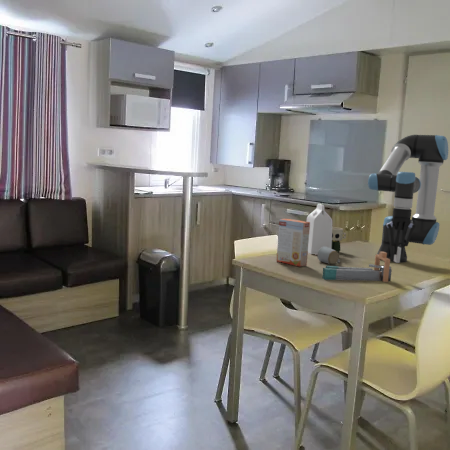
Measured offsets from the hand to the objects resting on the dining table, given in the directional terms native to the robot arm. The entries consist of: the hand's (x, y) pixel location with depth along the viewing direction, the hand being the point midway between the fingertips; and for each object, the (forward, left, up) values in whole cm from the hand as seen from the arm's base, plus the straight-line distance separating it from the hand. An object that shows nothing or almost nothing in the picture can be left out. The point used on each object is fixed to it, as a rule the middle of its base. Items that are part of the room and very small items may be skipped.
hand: (396, 261), depth 225 cm
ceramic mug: (+19, -31, -8) cm, 37 cm away
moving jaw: (+17, 0, -8) cm, 18 cm away
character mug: (+6, -60, -8) cm, 60 cm away
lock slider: (+7, 0, -8) cm, 10 cm away
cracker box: (+39, -27, -8) cm, 48 cm away
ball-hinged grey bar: (+18, +1, -8) cm, 20 cm away
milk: (+17, -57, -8) cm, 60 cm away
